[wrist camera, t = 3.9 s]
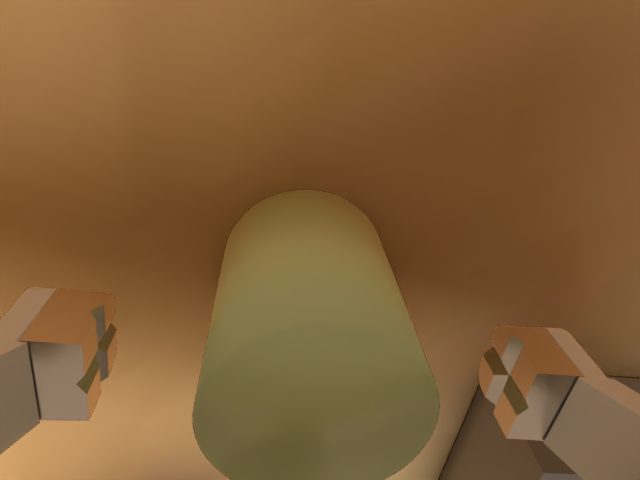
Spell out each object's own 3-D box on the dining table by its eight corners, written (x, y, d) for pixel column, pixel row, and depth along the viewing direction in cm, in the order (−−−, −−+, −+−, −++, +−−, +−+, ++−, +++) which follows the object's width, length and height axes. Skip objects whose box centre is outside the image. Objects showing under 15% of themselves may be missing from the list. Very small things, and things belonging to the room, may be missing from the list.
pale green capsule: (230, 179, 11) (198, 312, 7) (397, 200, 12) (471, 335, 7) (219, 318, 13) (188, 495, 8) (364, 330, 13) (406, 501, 9)
